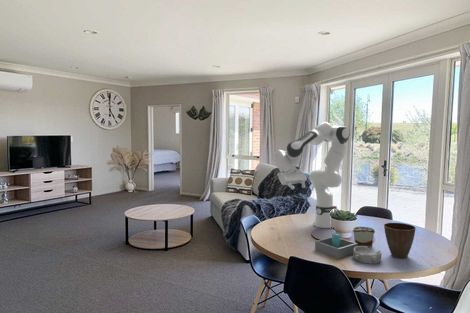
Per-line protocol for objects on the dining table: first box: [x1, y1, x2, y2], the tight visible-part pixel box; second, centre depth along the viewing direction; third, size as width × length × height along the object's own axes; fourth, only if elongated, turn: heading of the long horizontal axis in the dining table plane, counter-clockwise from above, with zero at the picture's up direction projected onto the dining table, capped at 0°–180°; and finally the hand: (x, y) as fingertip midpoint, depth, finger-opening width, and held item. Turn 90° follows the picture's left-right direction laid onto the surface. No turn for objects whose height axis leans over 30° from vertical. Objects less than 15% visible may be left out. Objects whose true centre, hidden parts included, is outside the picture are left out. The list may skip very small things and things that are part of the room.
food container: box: [352, 226, 376, 248], centre depth 192 cm, size 12×6×10 cm, turn 84°
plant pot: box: [383, 222, 417, 259], centre depth 174 cm, size 15×15×16 cm
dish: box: [352, 246, 382, 265], centre depth 170 cm, size 14×14×5 cm
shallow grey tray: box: [314, 236, 358, 260], centre depth 182 cm, size 16×16×5 cm
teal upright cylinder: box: [331, 233, 341, 248], centre depth 182 cm, size 4×4×9 cm
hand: (299, 188), depth 205 cm, fingers open, 8 cm apart
